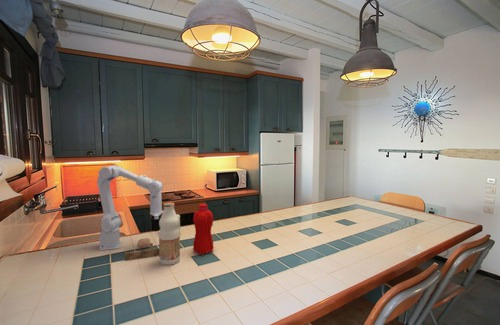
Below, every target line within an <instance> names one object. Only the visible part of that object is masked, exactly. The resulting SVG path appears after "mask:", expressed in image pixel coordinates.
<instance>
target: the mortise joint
mask: <svg viewBox="0 0 500 325" xmlns="http://www.w3.org/2000/svg"><path fill="white" fill-rule="evenodd" d="M149 247H150V248H149V249H142V250H134V251H127V252H124V258H125V259H124V260H125V261H131V260H132V261H133V260H139V259H140V260H141V259H146V258H154V257H159V247H157V248H154V243H151V242H150V246H149Z"/></svg>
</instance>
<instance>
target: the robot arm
mask: <svg viewBox="0 0 500 325" xmlns="http://www.w3.org/2000/svg"><path fill="white" fill-rule="evenodd" d="M97 173H98V177H97V182H96V183H97V184H96V185H97V188H98V194H99V198H100V203H101V207H102V211H103V216H102V218H101V226H100V228H101V231H100V232H99V236H98V237H99V251H108V250H115V249H120V248H121V245H122V242H121V240H120V238H121V237H120V227H121V226H122V222H123V221H122V218H121V217H120V215H119V213H118V212H116V208H115V203H114V199H113V194H112V190H111V185H110V184H111V182H112V181H113V180H114V179H116V178H117V177H121V178H125V179H128V180H130V181H133V182H135V184H136V185H137V186H138V187H142V188H143V189H145V190H148V192H149V202H150V203H149V204H150V205H149V206H150V208H149V209H150V211H149V214H150V216H151V218H150V221H151V223H152V226H153V227H152V228H153V231H154V232H159V231H160V226H159V220H160V218H161V217H162V214H163V211H164V210H163V209H162V208H163V207H162V206H163V204H162V201H163V200H162V199H163V198H162V190H163V188H164V184H163V182H161V181H160V180H155V179H154V178H150V177H148V176H147V175H146V174H141V175H138V174H135V173H133V172H131V171H129V170H127V169H125V168H124V167H122V166H119V165H116V164H113V165H107V166H102V167H101V168H100V169H99V170H98V172H97Z"/></svg>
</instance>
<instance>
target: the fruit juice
mask: <svg viewBox="0 0 500 325" xmlns="http://www.w3.org/2000/svg"><path fill="white" fill-rule="evenodd" d="M162 211H163V213H162V214H161V216H160V220H159V226H160V228H159V231H158V239H159V240H158V242H159V243H158V246H159V247H158V248H159V256H158V257H159V264H161V265H164V266H171V265H174V264H177V263H179V262H180V259H181V242H180V241H181V238H180V237H181V230H180V231H179V228H178V226H179V218H178V217H177V215H176V214H177V213H176V210H175V203H174V202H164V203H163V210H162Z"/></svg>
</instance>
